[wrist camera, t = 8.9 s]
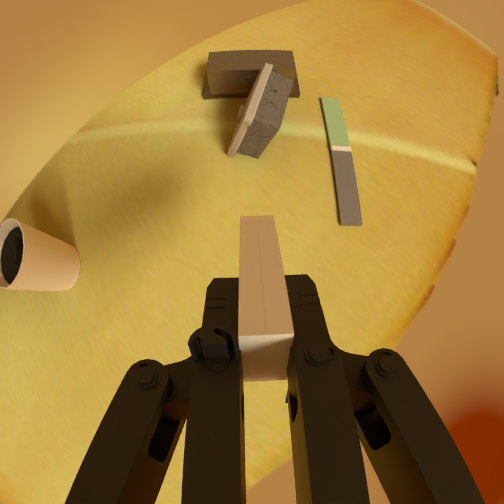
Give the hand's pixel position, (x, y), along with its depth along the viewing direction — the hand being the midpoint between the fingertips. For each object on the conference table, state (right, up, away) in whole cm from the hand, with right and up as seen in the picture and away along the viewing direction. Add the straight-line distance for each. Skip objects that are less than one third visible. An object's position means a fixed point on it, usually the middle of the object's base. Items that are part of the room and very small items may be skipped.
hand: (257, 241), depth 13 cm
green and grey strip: (+10, +11, +16) cm, 21 cm away
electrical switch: (0, +13, +16) cm, 21 cm away
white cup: (-23, -2, +14) cm, 27 cm away
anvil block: (0, +21, +17) cm, 27 cm away
